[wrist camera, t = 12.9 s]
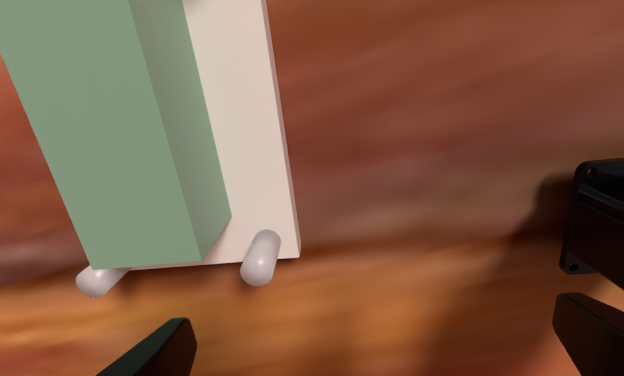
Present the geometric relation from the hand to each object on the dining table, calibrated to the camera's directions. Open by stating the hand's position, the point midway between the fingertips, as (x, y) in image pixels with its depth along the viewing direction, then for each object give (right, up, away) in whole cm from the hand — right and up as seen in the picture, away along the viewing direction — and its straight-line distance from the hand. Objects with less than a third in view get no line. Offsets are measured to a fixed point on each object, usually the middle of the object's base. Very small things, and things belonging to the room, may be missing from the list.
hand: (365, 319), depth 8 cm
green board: (-9, +7, +8) cm, 14 cm away
